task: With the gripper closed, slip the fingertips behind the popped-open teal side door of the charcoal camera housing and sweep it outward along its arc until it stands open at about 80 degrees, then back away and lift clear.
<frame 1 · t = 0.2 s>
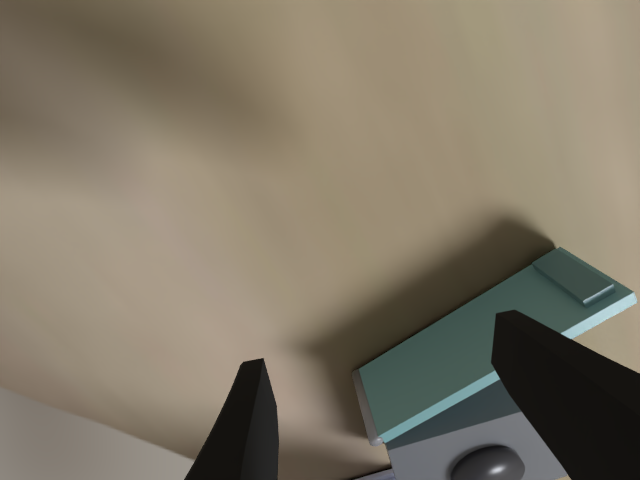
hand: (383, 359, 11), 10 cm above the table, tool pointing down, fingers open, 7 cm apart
door: (469, 340, 21), point 3 cm above the table, hinge at 20.0°
housing: (445, 391, 27), on the table
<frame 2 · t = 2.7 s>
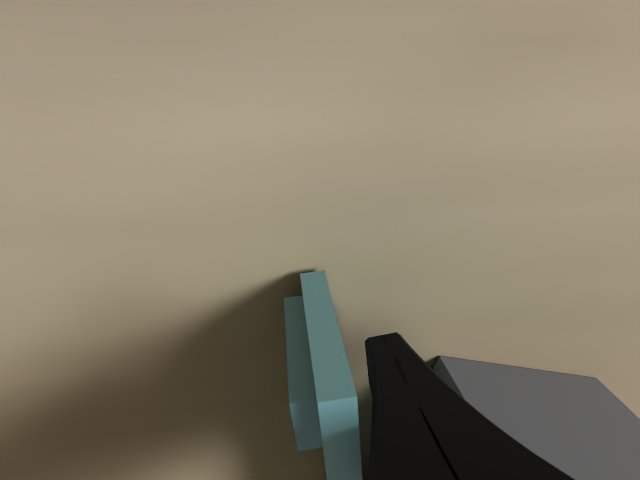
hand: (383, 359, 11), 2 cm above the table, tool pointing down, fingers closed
housing: (467, 452, 17), on the table
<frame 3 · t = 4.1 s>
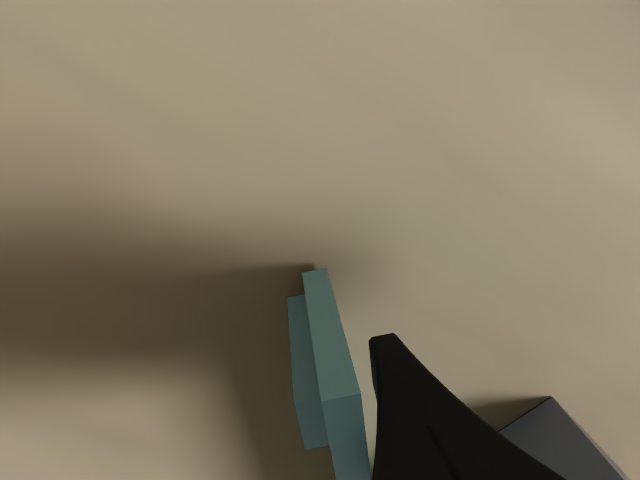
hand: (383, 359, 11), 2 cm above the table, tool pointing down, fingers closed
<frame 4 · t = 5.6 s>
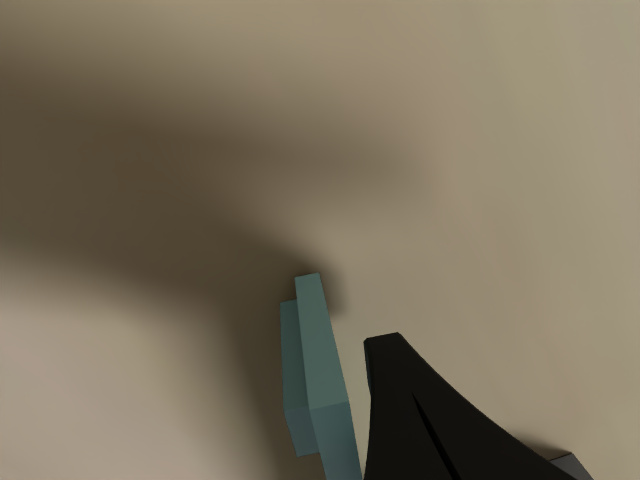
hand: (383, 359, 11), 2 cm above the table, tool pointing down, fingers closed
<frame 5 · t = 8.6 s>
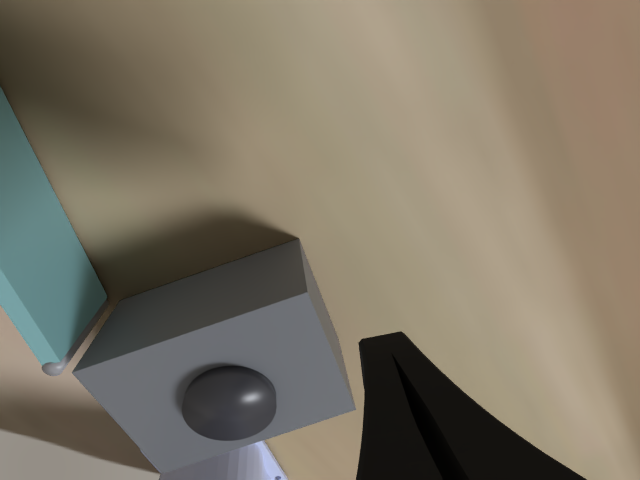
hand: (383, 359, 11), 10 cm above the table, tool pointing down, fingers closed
housing: (237, 321, 22), on the table
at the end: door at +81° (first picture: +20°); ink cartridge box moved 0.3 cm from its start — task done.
